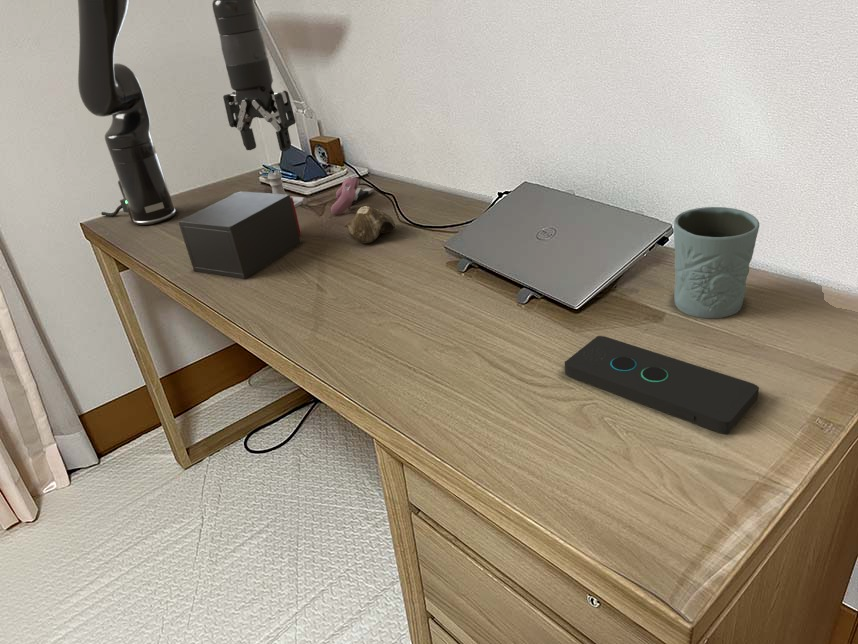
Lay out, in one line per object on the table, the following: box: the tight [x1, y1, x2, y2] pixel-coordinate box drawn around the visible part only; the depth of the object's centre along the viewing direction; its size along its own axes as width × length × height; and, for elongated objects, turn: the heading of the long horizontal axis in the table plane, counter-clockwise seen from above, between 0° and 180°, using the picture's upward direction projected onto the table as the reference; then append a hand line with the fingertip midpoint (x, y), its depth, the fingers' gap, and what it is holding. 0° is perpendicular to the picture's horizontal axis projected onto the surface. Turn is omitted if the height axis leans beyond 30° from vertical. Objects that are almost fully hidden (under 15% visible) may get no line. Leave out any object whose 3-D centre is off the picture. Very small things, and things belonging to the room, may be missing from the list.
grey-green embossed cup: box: [673, 206, 760, 319], centre depth 91 cm, size 10×10×12 cm
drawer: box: [290, 196, 308, 238], centre depth 131 cm, size 21×12×8 cm, turn 150°
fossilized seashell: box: [344, 205, 397, 244], centre depth 129 cm, size 8×7×10 cm
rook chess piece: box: [267, 170, 288, 195], centre depth 151 cm, size 4×4×8 cm
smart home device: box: [564, 335, 760, 435], centre depth 79 cm, size 8×2×20 cm
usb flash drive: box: [351, 187, 375, 205], centre depth 152 cm, size 9×5×1 cm, turn 147°
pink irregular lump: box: [330, 176, 360, 216], centre depth 146 cm, size 10×5×7 cm, turn 179°
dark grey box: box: [177, 190, 302, 280], centre depth 127 cm, size 16×13×10 cm
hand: (268, 149), depth 130 cm, fingers open, 8 cm apart
